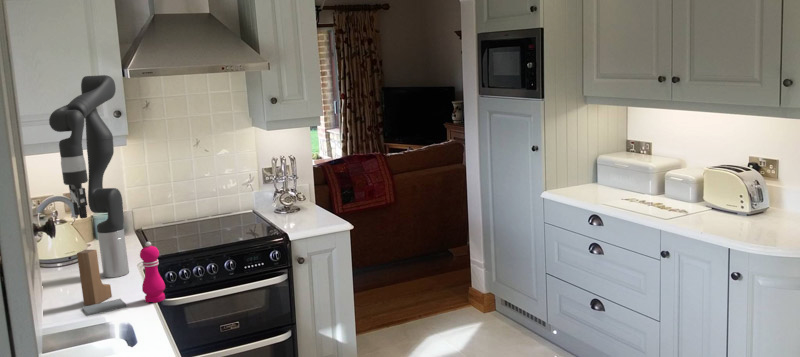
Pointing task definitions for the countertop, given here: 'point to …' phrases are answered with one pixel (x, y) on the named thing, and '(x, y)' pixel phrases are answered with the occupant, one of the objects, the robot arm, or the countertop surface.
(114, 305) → the grey mat
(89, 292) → the wooden block
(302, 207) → the countertop surface
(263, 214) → the countertop surface
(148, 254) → the pepper mill
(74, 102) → the robot arm
